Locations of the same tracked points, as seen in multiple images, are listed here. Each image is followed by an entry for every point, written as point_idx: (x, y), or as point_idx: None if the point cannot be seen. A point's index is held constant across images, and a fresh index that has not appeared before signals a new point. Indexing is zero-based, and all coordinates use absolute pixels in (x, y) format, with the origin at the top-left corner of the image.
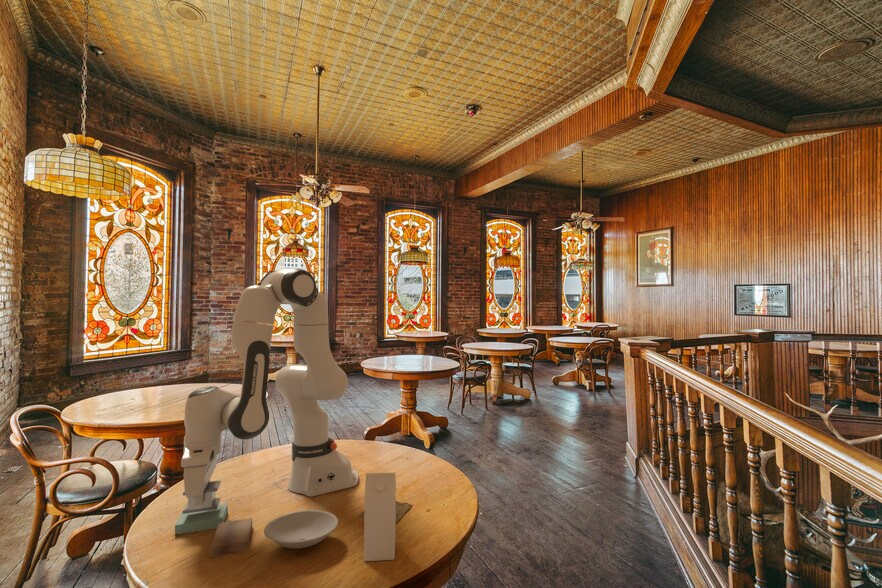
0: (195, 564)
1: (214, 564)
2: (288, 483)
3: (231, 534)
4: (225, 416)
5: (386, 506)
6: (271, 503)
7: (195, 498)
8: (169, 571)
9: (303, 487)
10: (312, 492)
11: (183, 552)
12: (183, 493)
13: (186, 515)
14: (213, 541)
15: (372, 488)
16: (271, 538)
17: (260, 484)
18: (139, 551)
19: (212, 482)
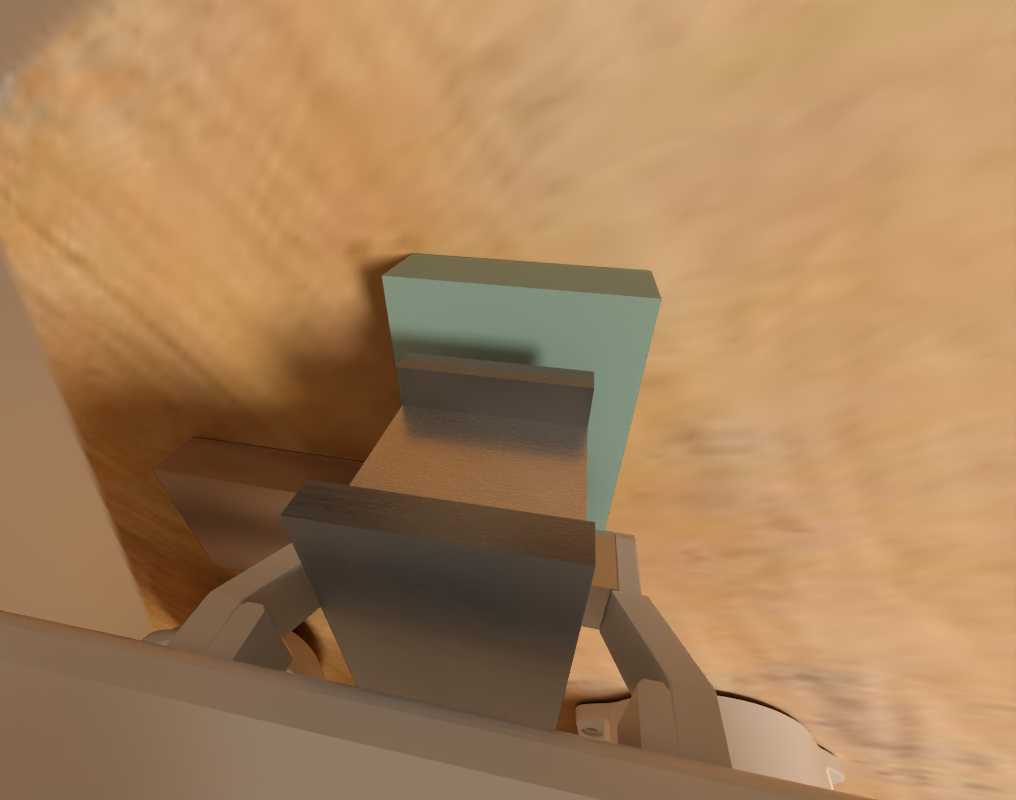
0: (148, 391)
1: (161, 450)
2: (742, 712)
3: (256, 535)
4: None
5: None
6: (594, 631)
7: (284, 554)
8: (77, 295)
9: (615, 735)
10: (580, 725)
11: (226, 334)
12: (294, 506)
13: (526, 339)
14: (198, 481)
15: None
16: (148, 639)
17: (885, 643)
18: (215, 13)
19: (522, 715)
